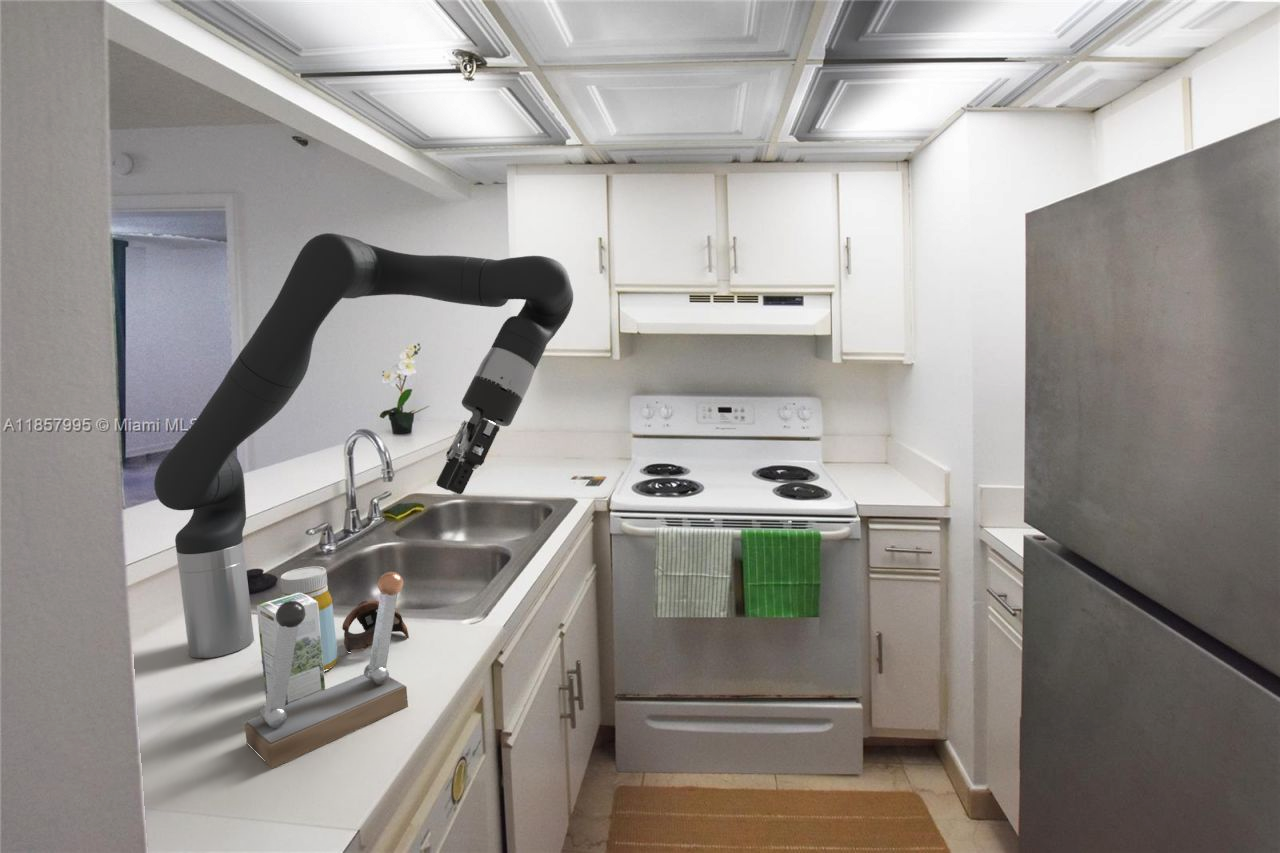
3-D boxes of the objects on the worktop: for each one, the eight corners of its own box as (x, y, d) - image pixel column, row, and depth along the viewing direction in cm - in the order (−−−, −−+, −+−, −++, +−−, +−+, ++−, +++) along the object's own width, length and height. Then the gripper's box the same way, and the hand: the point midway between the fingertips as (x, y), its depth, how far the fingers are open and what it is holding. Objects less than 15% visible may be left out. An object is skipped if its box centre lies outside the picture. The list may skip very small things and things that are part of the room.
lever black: (252, 721, 80) (274, 598, 81) (280, 717, 82) (301, 597, 84) (262, 731, 78) (284, 604, 79) (291, 725, 80) (311, 603, 82)
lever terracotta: (358, 679, 90) (375, 570, 91) (380, 676, 92) (397, 569, 93) (369, 686, 88) (387, 574, 89) (392, 683, 90) (409, 574, 91)
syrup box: (308, 688, 96) (298, 590, 94) (328, 700, 92) (317, 598, 90) (265, 705, 91) (254, 603, 90) (284, 719, 87) (273, 612, 86)
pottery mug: (422, 644, 110) (401, 612, 105) (371, 684, 106) (346, 653, 101) (393, 608, 118) (372, 577, 114) (344, 644, 114) (320, 613, 109)
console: (246, 744, 82) (244, 721, 82) (378, 688, 95) (376, 668, 94) (272, 768, 77) (269, 744, 76) (408, 706, 89) (406, 685, 89)
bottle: (285, 683, 97) (274, 584, 96) (289, 664, 104) (279, 570, 102) (337, 672, 100) (328, 575, 98) (338, 654, 106) (329, 562, 105)
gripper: (465, 378, 101) (415, 476, 97) (487, 368, 88) (430, 481, 84) (509, 401, 104) (462, 497, 100) (536, 395, 91) (483, 505, 87)
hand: (447, 489), depth 92 cm, fingers open, 8 cm apart
